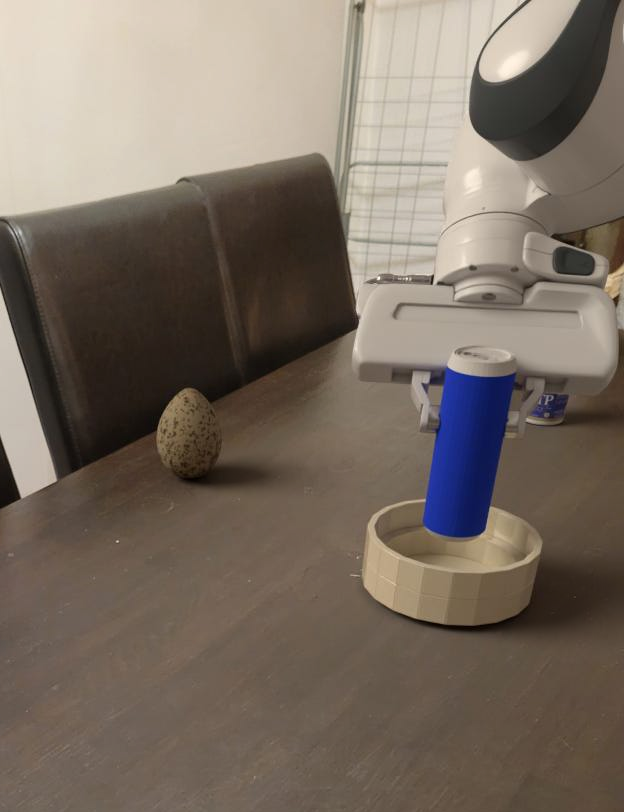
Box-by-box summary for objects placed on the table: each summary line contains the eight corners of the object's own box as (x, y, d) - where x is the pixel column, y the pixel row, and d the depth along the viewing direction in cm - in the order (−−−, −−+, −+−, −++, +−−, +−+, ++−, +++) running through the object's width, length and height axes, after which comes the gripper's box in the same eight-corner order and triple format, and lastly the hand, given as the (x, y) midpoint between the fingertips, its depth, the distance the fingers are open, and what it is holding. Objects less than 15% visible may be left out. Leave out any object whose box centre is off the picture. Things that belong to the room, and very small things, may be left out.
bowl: (509, 554, 90) (520, 500, 87) (547, 635, 78) (562, 575, 75) (355, 550, 91) (361, 496, 88) (369, 628, 79) (377, 569, 76)
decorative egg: (232, 482, 105) (235, 392, 100) (174, 493, 103) (173, 403, 97) (202, 460, 111) (204, 374, 105) (146, 470, 108) (145, 383, 103)
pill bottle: (510, 419, 120) (524, 348, 116) (532, 409, 123) (546, 339, 119) (549, 429, 117) (565, 356, 112) (571, 419, 120) (587, 348, 115)
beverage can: (492, 526, 82) (527, 350, 74) (473, 550, 78) (507, 367, 70) (433, 513, 84) (461, 341, 76) (412, 535, 81) (439, 357, 73)
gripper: (361, 250, 78) (339, 405, 75) (631, 259, 73) (618, 425, 71) (359, 294, 84) (338, 440, 81) (609, 305, 79) (596, 460, 77)
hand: (471, 433), depth 76 cm, fingers closed on beverage can, 5 cm apart
